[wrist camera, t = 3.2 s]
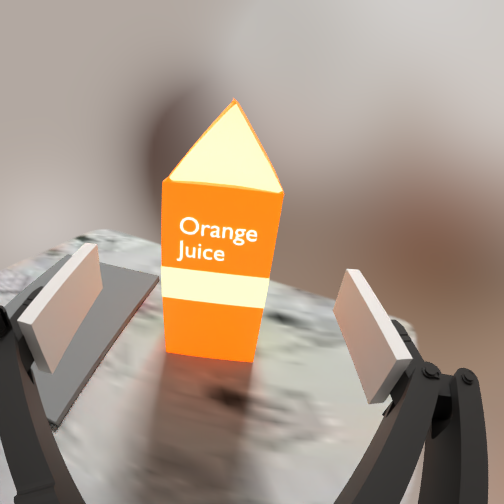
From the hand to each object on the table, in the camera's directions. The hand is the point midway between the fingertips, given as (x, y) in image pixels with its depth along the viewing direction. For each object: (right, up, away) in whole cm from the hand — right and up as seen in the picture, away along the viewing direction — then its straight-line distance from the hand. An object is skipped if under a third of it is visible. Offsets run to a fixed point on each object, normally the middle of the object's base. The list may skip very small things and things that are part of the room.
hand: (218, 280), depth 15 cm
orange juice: (-2, -6, +13) cm, 14 cm away
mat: (-17, -5, +10) cm, 20 cm away
